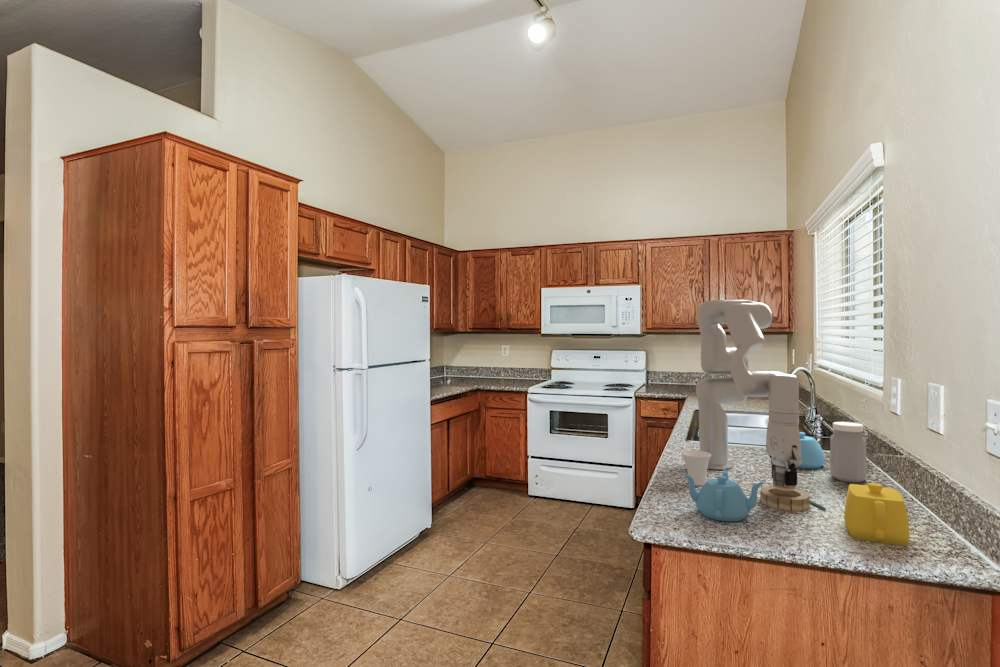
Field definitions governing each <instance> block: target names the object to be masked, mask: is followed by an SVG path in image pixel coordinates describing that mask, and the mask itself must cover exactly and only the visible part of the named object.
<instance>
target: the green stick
mask: <svg viewBox="0 0 1000 667" xmlns="http://www.w3.org/2000/svg"><path fill="white" fill-rule="evenodd" d="M809 504H812V505H813V506H816V507H818V508H819V509H821V510H823V511H826V510H827V509H826V507H824V506H823V505H821V504H818V503H817V502H815V501H813V500H811V499H809Z"/></svg>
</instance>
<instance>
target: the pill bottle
mask: <svg viewBox="0 0 1000 667" xmlns="http://www.w3.org/2000/svg"><path fill="white" fill-rule="evenodd" d="M789 460H793V459H792V458H789ZM792 463H793V462H789V465H791V464H792ZM772 465H773V478H772V486H773V487H774V488H776V489H778V490H783V491H793V490H795V489H797V485H796V486H786V485H785V471H786V466H785V461H782V460H779V459H777V458H776V460H774V461H773V464H772Z"/></svg>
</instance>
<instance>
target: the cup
mask: <svg viewBox="0 0 1000 667" xmlns="http://www.w3.org/2000/svg"><path fill="white" fill-rule="evenodd" d="M681 456H682V458H683V460H684V462H685V466H686V469H687V474H688V475H690V476H691V477H692V478H693V479H694V485H695V487H703V485H704V484H705V483H706V482H707V481H708V479H707V474H708V469H707V467H708V462H709V460H710V457H711V454H710V453H708V452H704V451H700V450H696V449H695V450H694V449H693V450H687V449H684V450H683V451H682V452H681ZM687 482H688V483H689V481H688V480H687Z"/></svg>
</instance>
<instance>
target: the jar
mask: <svg viewBox="0 0 1000 667" xmlns="http://www.w3.org/2000/svg"><path fill="white" fill-rule="evenodd" d="M832 429H833V430H832V433H833V434H831V435H830V438H829V439H830V441H829V442H830V443H829V447H830V450H829V452H830V454H829V455H830V456H829V457H830V458H829V460H830V462H829V463H830V467H829V468H830V472H829V473H830V474H831V476H832V477H833V478H834V479H835V480H837V481H838V480H839V481H841V482H847V483H862V482H864V481H865V480H866V479H867V474H868V473H867V439H866V437H864V435H865V434H864V433H863V432H864V429H865V428H864V424H862V423H859V422H852V421H834V422H832Z"/></svg>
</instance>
